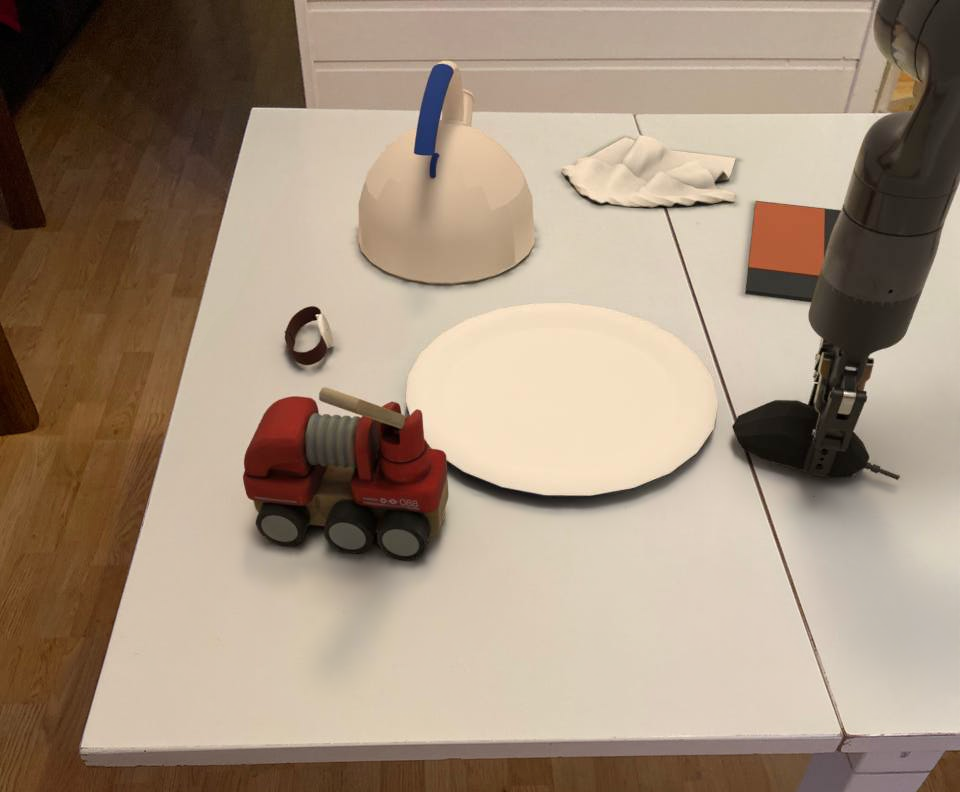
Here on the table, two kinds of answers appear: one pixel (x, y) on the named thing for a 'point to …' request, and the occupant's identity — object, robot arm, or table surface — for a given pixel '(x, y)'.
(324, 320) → the watch
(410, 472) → the toy fire truck
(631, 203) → the cloth
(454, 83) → the kettle
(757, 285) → the mat
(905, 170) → the robot arm
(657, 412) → the plate
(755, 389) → the table surface
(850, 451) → the gaming mouse
